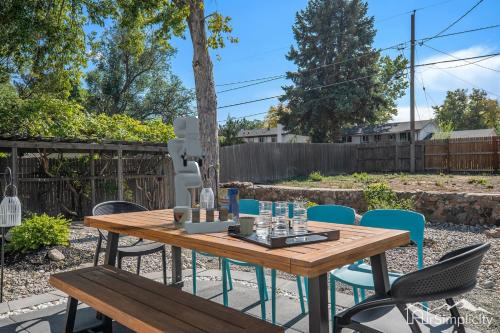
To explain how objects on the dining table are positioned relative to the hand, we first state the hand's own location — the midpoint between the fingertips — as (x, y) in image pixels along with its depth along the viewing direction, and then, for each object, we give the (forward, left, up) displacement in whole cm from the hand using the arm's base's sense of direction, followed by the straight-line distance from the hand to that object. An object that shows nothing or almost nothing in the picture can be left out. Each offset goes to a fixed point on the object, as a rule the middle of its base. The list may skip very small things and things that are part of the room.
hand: (192, 166), depth 225 cm
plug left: (+13, -2, -31) cm, 34 cm away
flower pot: (+33, +20, -36) cm, 53 cm away
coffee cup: (-6, -6, -36) cm, 37 cm away
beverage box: (-7, +24, -36) cm, 44 cm away
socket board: (+13, +6, -36) cm, 39 cm away
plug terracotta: (+13, +14, -31) cm, 37 cm away
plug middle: (+13, +6, -31) cm, 34 cm away
